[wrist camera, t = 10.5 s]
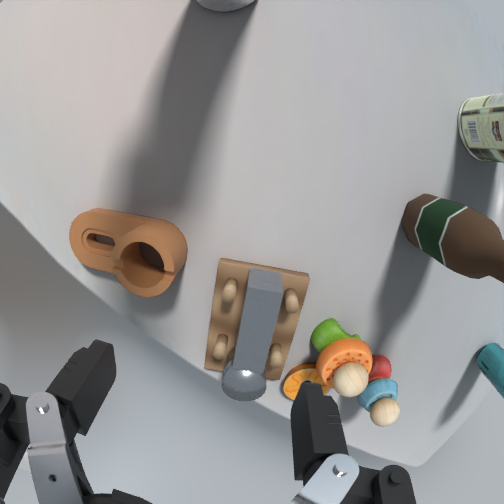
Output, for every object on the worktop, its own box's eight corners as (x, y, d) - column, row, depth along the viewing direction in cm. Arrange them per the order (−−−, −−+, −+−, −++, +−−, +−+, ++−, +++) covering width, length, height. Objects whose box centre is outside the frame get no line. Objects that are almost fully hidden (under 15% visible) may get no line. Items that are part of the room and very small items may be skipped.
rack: (220, 257, 40) (213, 274, 34) (307, 273, 40) (314, 292, 34) (206, 360, 46) (200, 384, 40) (278, 372, 46) (280, 397, 40)
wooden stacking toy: (267, 380, 47) (267, 438, 35) (332, 306, 42) (353, 359, 30) (344, 412, 49) (356, 461, 37) (406, 351, 44) (435, 398, 32)
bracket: (191, 224, 39) (177, 239, 32) (184, 280, 42) (170, 303, 35) (79, 204, 38) (52, 214, 32) (79, 256, 41) (54, 272, 34)
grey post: (242, 265, 38) (238, 285, 32) (288, 273, 38) (292, 294, 32) (224, 370, 44) (219, 397, 38) (261, 376, 44) (261, 403, 38)
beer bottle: (443, 191, 36) (570, 237, 13) (441, 242, 38) (552, 318, 15) (399, 193, 36) (528, 245, 13) (399, 247, 39) (505, 339, 16)
